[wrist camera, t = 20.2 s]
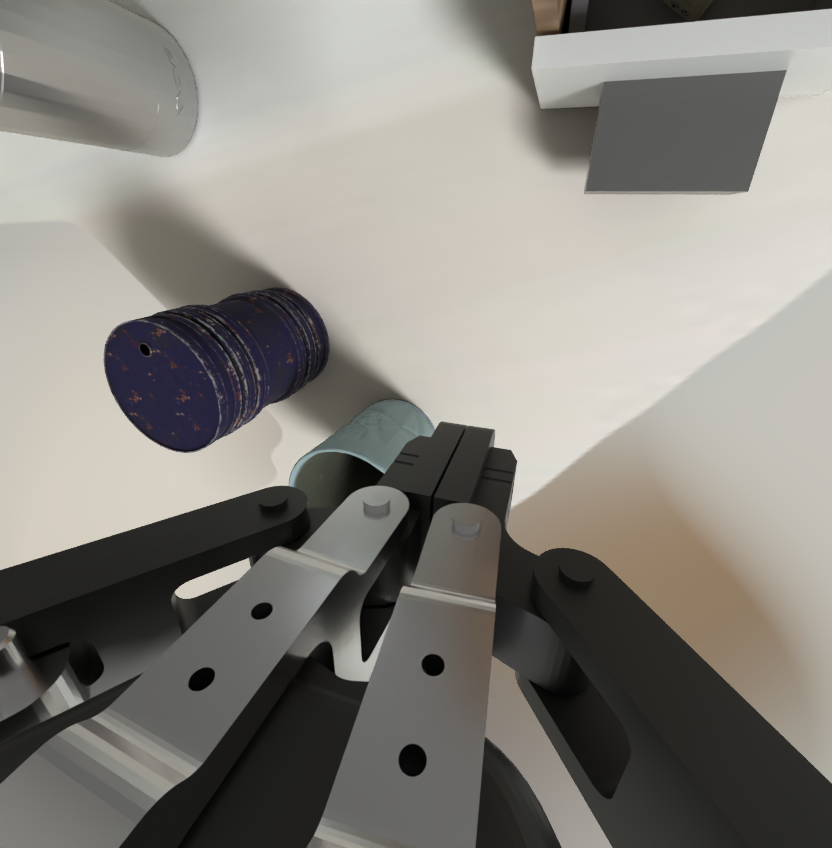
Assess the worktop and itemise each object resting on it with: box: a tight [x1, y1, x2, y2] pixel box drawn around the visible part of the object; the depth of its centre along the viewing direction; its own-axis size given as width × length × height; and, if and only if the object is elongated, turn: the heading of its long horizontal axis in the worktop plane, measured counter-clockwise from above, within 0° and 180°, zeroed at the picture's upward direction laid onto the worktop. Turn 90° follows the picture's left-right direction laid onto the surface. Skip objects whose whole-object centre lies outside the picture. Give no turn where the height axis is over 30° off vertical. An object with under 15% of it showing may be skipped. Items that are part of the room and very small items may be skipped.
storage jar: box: [104, 288, 329, 453], centre depth 35 cm, size 10×10×15 cm
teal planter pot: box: [289, 399, 435, 508], centre depth 37 cm, size 10×10×12 cm
